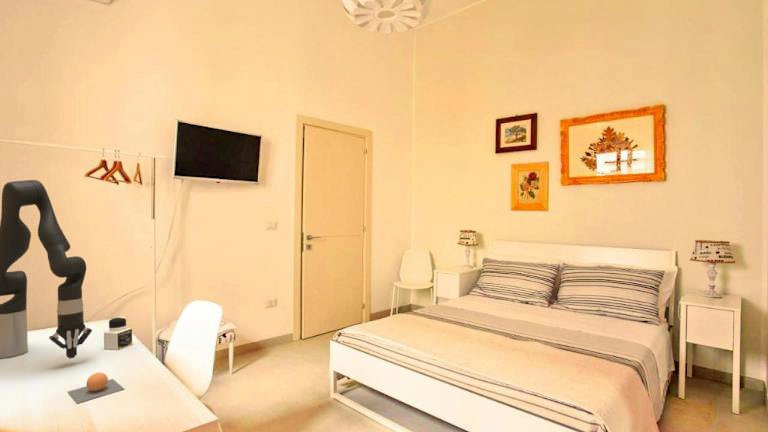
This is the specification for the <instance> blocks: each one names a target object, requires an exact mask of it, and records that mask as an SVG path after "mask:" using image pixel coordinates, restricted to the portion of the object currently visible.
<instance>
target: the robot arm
mask: <svg viewBox="0 0 768 432" xmlns="http://www.w3.org/2000/svg"><path fill="white" fill-rule="evenodd" d="M51 202H52V201H51V200H50V197H49V194H48V192H47V190H46V188H45V186H44V184H43V183H42V182H40V181H39V180H37V179H27V180H15V181H8V182H6V183H5V184H4V185H3V187H2V191H1V218H0V297H4V296H5V297H6V296H11V295H13V296H12V297H11V298H10V299H9V300H6V301H4V302H2V303H0V359H7V358H12V357H13V358H14V357H17V356H21V355H24V354H26V353H27V352H28V350H29V348H28V343H29V342H28V340H29V339H28V313H27V312H28V311H27V310H28V309H27V305H28V303H27V299H28V297H27V296H28V295H27V293H28V291H27V290H28V277H27V274H26V273H25V271H22V270H15V271H8V270H9V269H10V267H11V266H13V265H14V264H15V263H16V262H17V261H19V259H20V258H22V257H23V256H24V255H25V254H26V253H27V252H28V250H29V248H30V243H31V237H32V232H31V230H30V229H29V227H28V225H26V224H25V222H23V220H22V219H21V217H20V211H21V208H22V207H27V206H28V207H29V206H36V208H37V209H38V212H39V223H38V227H37V236H38V239H39V242H40V243H41V244H42V247H43V248H44V250H45V251H46V254H47V260H48V264H49V265H48V266H49V269H50V271H51V273H52V274H53V275H54V276H55V277H58V278H61V279H62V278H65V281H64V282H63V283H61V284H59V285H58V286H57V305H56V306H57V307H56V308H57V309H56V313H57V318H56V319H57V329H56V330H55V333H54V334H53V335H50V336H49V337H48V339H49V340H50V341H51V342H52V343H54V344H55V345H57V346H58V347H59V348H61V349H65V355H66V357H67V358H69V359H74V358H76V356H77V354H78V346H80V345H83V343H84V342H86V340H87V338H88V337H89V336H90V334H91V333H92V332H93V329H92V328H89V327H86V324H85V322H84V320H85V319H84V302H83V288H82V287H83V283H84V280H85V277H86V272H87V263H86V261H85V259H84V258H83V257H80V256H70V257H69V256H68V257H67V255H66V252H68V251H69V250H70V249H71V244H70V242H69V240H68V239H67V236H65V234H64V232H63V230H62V228H61V226H60V224H59V222H58V219H57V217H56V213H55V211H54V207H53V205H52V203H51ZM60 337H61V338H62V339H63V341H64V342H61V340H59V339H60Z"/></svg>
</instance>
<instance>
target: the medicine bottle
mask: <svg viewBox="0 0 768 432" xmlns="http://www.w3.org/2000/svg"><path fill="white" fill-rule="evenodd" d="M132 345H133V327H127V318H126V317H123V316H120V317H113V318H111V319H109V320H108V330H106V331H104V332H103V349H104V350H111V351H112V350H113V351H114V350H115V351H119V350H122V349H124V348H127V347H128V346H132Z"/></svg>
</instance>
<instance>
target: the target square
mask: <svg viewBox="0 0 768 432" xmlns="http://www.w3.org/2000/svg"><path fill="white" fill-rule="evenodd" d="M124 390H125V388H124V387H123V386H122V385H120V383H118V382H117V381H116V380H115V379H114V378H112V379H111V378H110V379H108V382H107V385H106V386H105V387H104V388H103V389H102V390H100V391H90V390H89V389H88V388H87V386H82V387H79V388H76V389H72V390H69V391H67V393H68V394H69V396H70V397H71V398H72V399H73V400H74V401H75V404H77V405H79V404H81V403H85V402H88V401H92V400H94V399H98V398H101V397H104V396H108V395H111V394H114V393H117V392H120V391H124Z"/></svg>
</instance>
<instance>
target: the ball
mask: <svg viewBox="0 0 768 432" xmlns="http://www.w3.org/2000/svg"><path fill="white" fill-rule="evenodd" d="M108 380H109V378H108V376H107V374H105V373H104V372H95V373H92V374H91V375H90V376H89V377H88V378H87V380H86V383H85V384H86V386H87V388H88V389H89V390H90V391H100V390H102V389H103V388H104V387H105V386H106V385H107V382H108ZM86 386H85V387H86Z"/></svg>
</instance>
